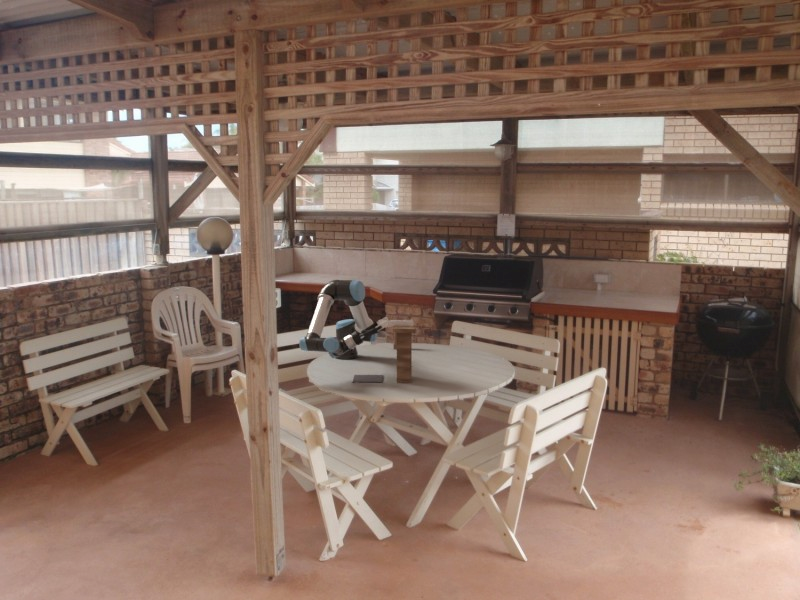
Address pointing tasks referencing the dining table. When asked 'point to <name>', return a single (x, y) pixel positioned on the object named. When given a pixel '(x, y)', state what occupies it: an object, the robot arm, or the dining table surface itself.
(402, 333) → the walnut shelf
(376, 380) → the rubber mat
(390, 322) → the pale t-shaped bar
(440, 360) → the dining table surface
